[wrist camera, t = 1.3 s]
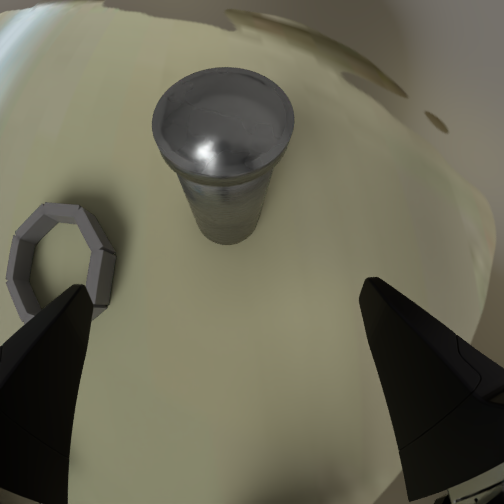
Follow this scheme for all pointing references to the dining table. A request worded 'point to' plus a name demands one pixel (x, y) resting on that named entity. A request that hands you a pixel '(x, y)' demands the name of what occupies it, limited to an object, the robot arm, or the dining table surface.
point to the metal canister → (224, 145)
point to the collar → (35, 231)
